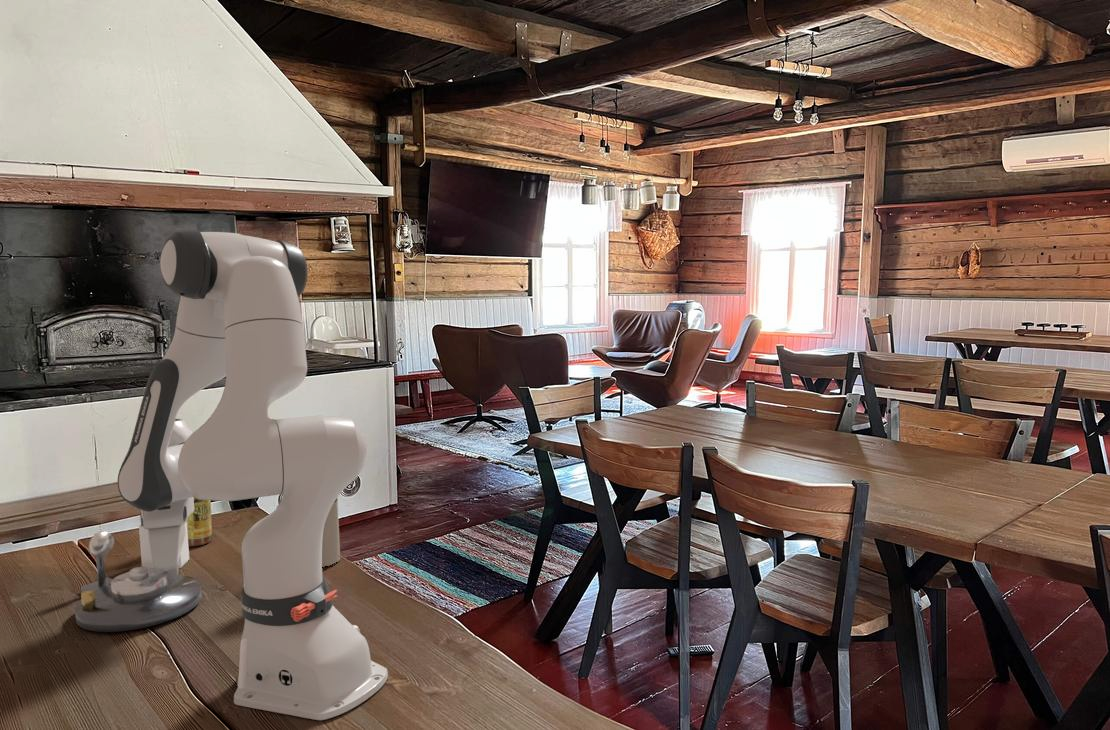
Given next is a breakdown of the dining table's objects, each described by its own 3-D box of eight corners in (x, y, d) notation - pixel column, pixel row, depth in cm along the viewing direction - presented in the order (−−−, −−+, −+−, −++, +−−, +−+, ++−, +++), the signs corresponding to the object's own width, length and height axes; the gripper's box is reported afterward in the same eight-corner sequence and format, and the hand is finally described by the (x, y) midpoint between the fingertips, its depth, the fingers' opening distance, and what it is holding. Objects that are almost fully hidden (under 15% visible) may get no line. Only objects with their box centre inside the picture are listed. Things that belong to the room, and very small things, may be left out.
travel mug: (314, 572, 155) (310, 486, 152) (293, 563, 160) (289, 479, 158) (347, 560, 161) (344, 477, 158) (326, 552, 166) (322, 471, 164)
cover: (177, 590, 140) (176, 566, 139) (127, 608, 132) (125, 583, 132) (152, 579, 145) (150, 557, 144) (102, 596, 138) (100, 572, 137)
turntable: (183, 575, 152) (181, 551, 151) (216, 607, 137) (214, 580, 136) (65, 605, 139) (63, 578, 138) (88, 643, 124) (86, 614, 123)
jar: (145, 576, 153) (140, 518, 152) (139, 564, 160) (135, 508, 159) (193, 566, 159) (189, 510, 157) (185, 554, 165) (182, 501, 164)
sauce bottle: (197, 549, 169) (191, 461, 166) (175, 546, 171) (169, 459, 168) (219, 539, 175) (214, 454, 172) (198, 536, 177) (192, 453, 175)
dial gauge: (130, 590, 147) (126, 531, 145) (104, 599, 142) (100, 539, 141) (107, 583, 150) (102, 525, 149) (81, 592, 146) (76, 533, 144)
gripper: (155, 492, 150) (160, 560, 152) (141, 523, 131) (147, 599, 133) (190, 489, 152) (195, 555, 154) (182, 518, 133) (187, 594, 135)
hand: (172, 576), depth 143 cm, fingers closed
